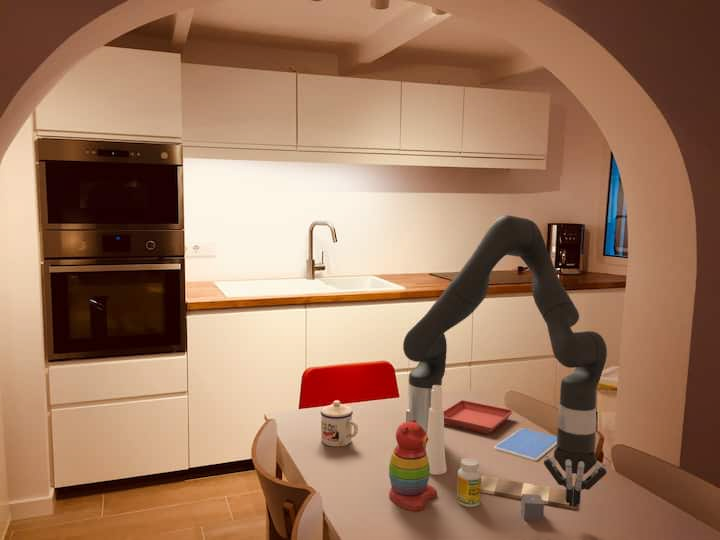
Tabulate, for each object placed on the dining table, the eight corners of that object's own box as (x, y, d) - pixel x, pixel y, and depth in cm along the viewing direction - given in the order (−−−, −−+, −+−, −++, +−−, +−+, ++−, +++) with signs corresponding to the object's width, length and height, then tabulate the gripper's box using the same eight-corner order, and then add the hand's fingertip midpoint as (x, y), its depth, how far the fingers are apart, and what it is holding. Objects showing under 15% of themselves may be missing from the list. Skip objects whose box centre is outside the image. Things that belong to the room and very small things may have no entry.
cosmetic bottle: (427, 462, 154) (429, 381, 151) (449, 467, 151) (452, 384, 149) (419, 472, 148) (421, 387, 146) (442, 477, 146) (444, 391, 143)
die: (523, 520, 126) (524, 502, 126) (520, 510, 130) (521, 493, 130) (543, 521, 126) (544, 503, 125) (539, 512, 130) (540, 494, 129)
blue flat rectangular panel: (521, 430, 178) (521, 426, 178) (562, 441, 170) (563, 437, 170) (492, 451, 163) (493, 446, 163) (536, 464, 155) (536, 459, 155)
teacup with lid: (313, 441, 166) (313, 402, 165) (334, 432, 174) (334, 394, 172) (346, 453, 159) (347, 411, 158) (366, 442, 166) (367, 402, 165)
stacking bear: (419, 513, 128) (421, 435, 126) (379, 501, 134) (380, 425, 132) (439, 493, 137) (441, 420, 135) (401, 482, 143) (403, 411, 141)
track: (468, 489, 139) (468, 486, 139) (473, 477, 146) (473, 474, 146) (576, 509, 131) (576, 506, 131) (576, 495, 137) (576, 491, 137)
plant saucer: (436, 424, 181) (436, 414, 181) (461, 408, 196) (461, 399, 196) (491, 438, 171) (492, 427, 171) (513, 420, 186) (514, 410, 186)
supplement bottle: (469, 493, 137) (470, 454, 136) (485, 503, 133) (487, 463, 132) (451, 499, 134) (453, 459, 133) (468, 510, 130) (469, 468, 129)
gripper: (542, 428, 122) (539, 507, 123) (611, 437, 117) (607, 519, 119) (544, 416, 129) (541, 491, 130) (609, 424, 124) (605, 502, 126)
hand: (572, 504), depth 125 cm, fingers closed
